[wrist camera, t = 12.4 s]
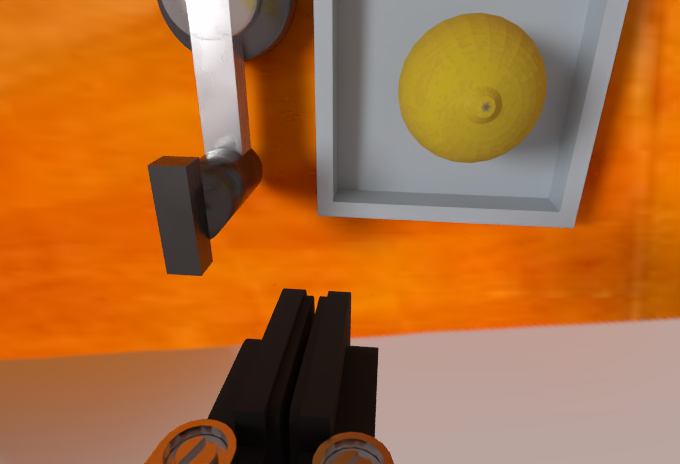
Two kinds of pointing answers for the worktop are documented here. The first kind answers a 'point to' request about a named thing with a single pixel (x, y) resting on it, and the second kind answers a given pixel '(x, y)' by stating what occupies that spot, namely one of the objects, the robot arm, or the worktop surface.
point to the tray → (420, 164)
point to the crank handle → (208, 137)
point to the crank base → (253, 27)
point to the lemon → (472, 88)
